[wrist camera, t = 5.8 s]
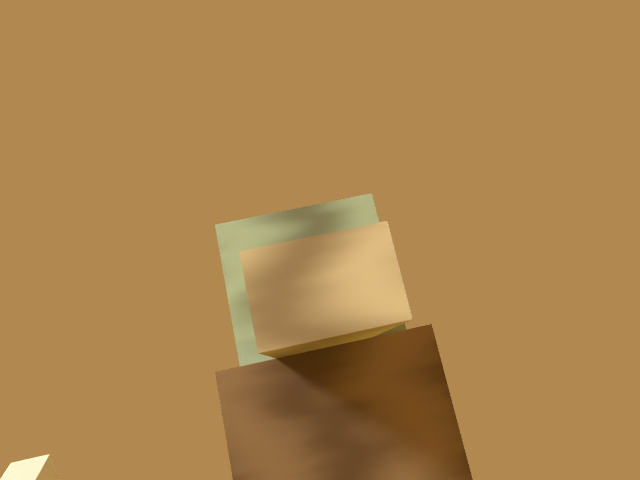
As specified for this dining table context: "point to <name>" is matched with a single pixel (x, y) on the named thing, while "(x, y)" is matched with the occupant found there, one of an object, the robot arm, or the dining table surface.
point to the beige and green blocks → (311, 279)
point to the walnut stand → (345, 413)
